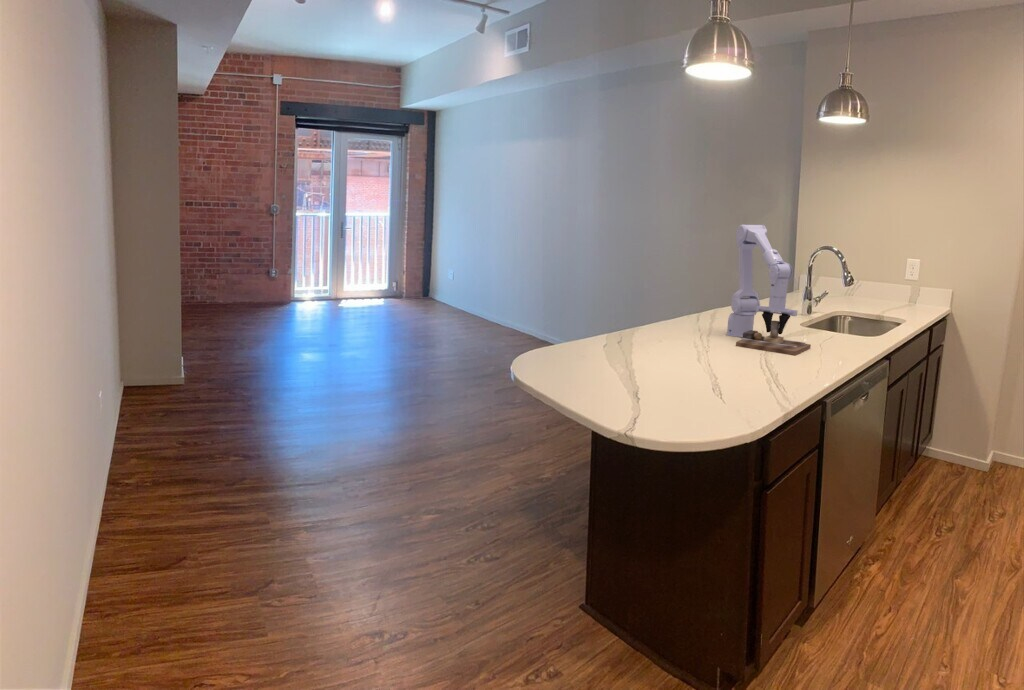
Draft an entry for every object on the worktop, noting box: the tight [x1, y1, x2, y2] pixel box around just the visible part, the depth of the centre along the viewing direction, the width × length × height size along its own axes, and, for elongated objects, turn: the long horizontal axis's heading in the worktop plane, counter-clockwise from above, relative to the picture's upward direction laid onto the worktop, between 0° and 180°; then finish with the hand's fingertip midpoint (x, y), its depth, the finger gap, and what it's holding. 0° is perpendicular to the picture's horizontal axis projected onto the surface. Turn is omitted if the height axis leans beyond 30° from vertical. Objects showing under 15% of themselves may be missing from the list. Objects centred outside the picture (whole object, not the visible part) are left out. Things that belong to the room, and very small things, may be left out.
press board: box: [735, 329, 811, 356], centre depth 268 cm, size 22×16×5 cm
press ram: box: [764, 320, 784, 344], centre depth 267 cm, size 5×6×8 cm
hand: (774, 332), depth 267 cm, fingers open, 4 cm apart
